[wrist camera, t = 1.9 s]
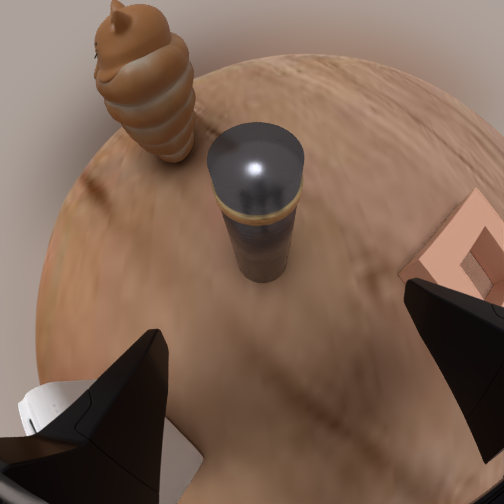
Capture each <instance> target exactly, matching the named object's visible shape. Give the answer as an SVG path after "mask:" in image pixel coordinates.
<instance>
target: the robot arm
mask: <svg viewBox="0 0 504 504" xmlns="http://www.w3.org/2000/svg"><path fill="white" fill-rule="evenodd" d="M404 303H405V306H406V308H407V310H408V312H409V314H410V316H411V318H412V320H413V322H414V324H415V326H416V328H417V330H418V332H419V334H420V336H421V338H422V339H423V341H424V343H425V344H426V346H427V348H428V349H429V351H430V353H431V355H432V356H433V358H434V360H435V362H436V363H437V365H438V367H439V369H440V370H441V372H442V374H443V376H444V378H445V380H446V382H447V383H448V385H449V387H450V389H451V391H452V393H453V395H454V397H455V399H456V401H457V403H458V405H459V407H460V409H461V411H462V413H463V415H464V417H465V419H466V422H467V424H468V426H469V428H470V430H471V433H472V435H473V437H474V440H475V442H476V444H477V447H478V449H479V451H480V454H481V456H482V459H483V461H484V463H485V464H487V463H488V462H489V461H491V460H492V459H493V458H494V457H496V456H497V455H498V454H499V453H501V452H502V451H503V450H504V307H501V306H498V305H496V304H493V303H491V304H490V302H487V301H484V300H482V299H479V298H476V297H473V296H470V295H467V294H464V293H462V292H459V291H456V290H453V289H450V288H447V287H444V286H441V285H438V284H435V283H432V282H429V281H426V280H423V279H420V278H417V277H415V278H412V279H408V280H407V282H406V286H405V293H404ZM168 359H169V350H168V346H167V344H166V341H165V339H164V337H163V335H162V332H161V331H160V329H150V330H147V331H146V332H145V333H144V334H143V335H142V336H141V337H140V338H139V339H138V340H137V341H136V342H135V343H134V344H133V345H132V346H131V347H130V348H129V349H128V350H127V351H126V352H125V353H124V354H123V355H122V356H121V357H120V358H119V359H117V360H116V361H115V362H114V363H113V364H112V365H111V366H110V367H109V368H108V369H107V370H106V371H105V372H104V373H103V374H102V375H101V376H100V377H99V378H98V379H97V380H96V381H95V382H94V383H93V384H92V385H91V386H90V387H89V389H87V390H86V391H85V392H84V393H83V394H82V395H81V396H80V397H79V398H78V399H77V400H76V401H75V402H74V403H72V404H71V405H70V406H69V407H68V408H67V409H66V410H64V411H63V412H62V413H61V414H60V415H58V416H57V417H56V418H55V419H54V420H52V421H51V422H50V423H49V424H48V425H46V426H45V427H44V428H43V429H42V430H40V431H39V432H37V433H35V434H33V435H30V436H24V437H3V438H0V504H159V491H160V472H161V457H162V444H163V433H164V422H165V413H166V404H167V395H168ZM470 504H504V476H503V479H501V480H500V481H499V482H498V483H497V484H495V485H494V486H493V487H491V488H490V489H489V490H488V491H486V492H485V493H484V494H482V495H481V496H480V497H478V498H477V499H475V500H474V501H472V502H471V503H470Z"/></svg>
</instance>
